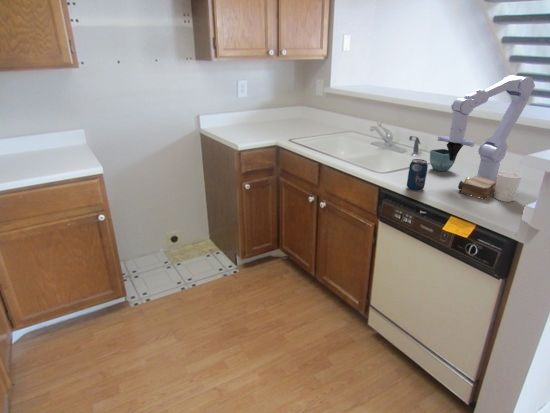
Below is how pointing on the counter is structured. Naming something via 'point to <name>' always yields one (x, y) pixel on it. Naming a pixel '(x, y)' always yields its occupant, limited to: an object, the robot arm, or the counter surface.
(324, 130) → the counter surface
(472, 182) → the catch block
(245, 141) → the counter surface
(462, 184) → the plunger
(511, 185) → the white cup
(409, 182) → the soda can
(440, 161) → the flower pot
